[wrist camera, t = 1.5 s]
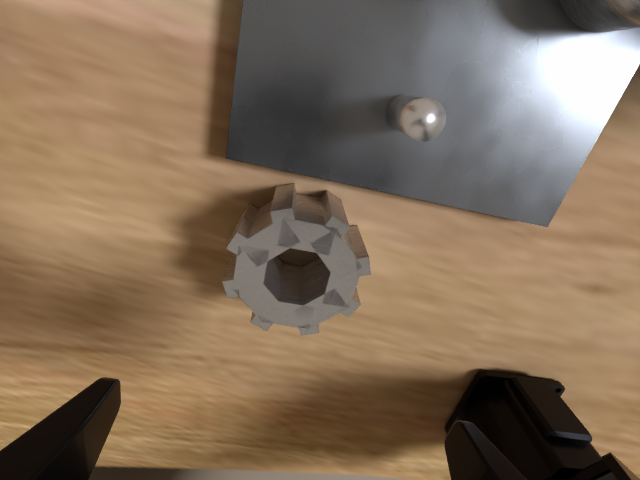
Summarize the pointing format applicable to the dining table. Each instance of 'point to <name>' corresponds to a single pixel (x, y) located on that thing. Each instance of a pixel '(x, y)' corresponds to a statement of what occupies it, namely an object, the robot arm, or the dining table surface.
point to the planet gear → (289, 280)
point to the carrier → (433, 95)
